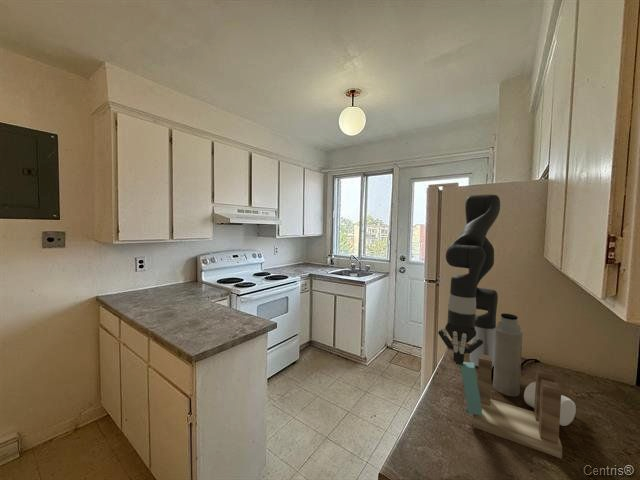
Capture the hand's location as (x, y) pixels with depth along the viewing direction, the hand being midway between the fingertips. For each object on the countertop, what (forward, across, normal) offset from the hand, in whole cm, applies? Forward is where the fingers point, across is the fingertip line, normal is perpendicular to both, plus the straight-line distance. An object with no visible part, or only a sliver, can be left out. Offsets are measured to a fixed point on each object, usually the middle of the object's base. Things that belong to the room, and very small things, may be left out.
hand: (458, 363), depth 83 cm
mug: (+17, -26, -19) cm, 36 cm away
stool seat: (+17, -15, -4) cm, 23 cm away
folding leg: (+14, -5, 0) cm, 15 cm away
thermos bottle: (+17, -14, -26) cm, 34 cm away
